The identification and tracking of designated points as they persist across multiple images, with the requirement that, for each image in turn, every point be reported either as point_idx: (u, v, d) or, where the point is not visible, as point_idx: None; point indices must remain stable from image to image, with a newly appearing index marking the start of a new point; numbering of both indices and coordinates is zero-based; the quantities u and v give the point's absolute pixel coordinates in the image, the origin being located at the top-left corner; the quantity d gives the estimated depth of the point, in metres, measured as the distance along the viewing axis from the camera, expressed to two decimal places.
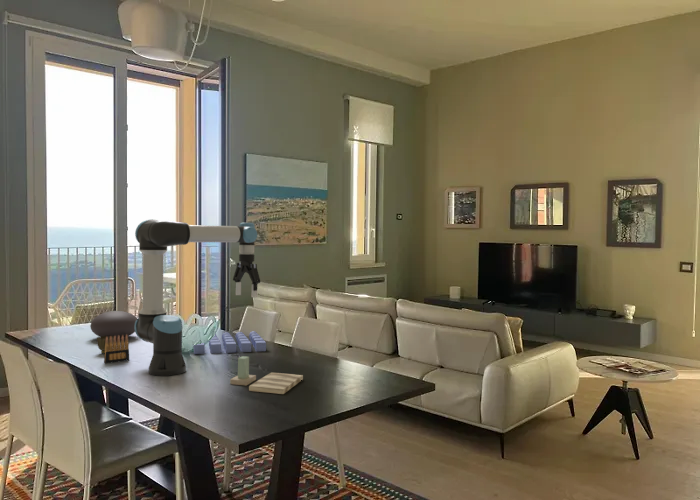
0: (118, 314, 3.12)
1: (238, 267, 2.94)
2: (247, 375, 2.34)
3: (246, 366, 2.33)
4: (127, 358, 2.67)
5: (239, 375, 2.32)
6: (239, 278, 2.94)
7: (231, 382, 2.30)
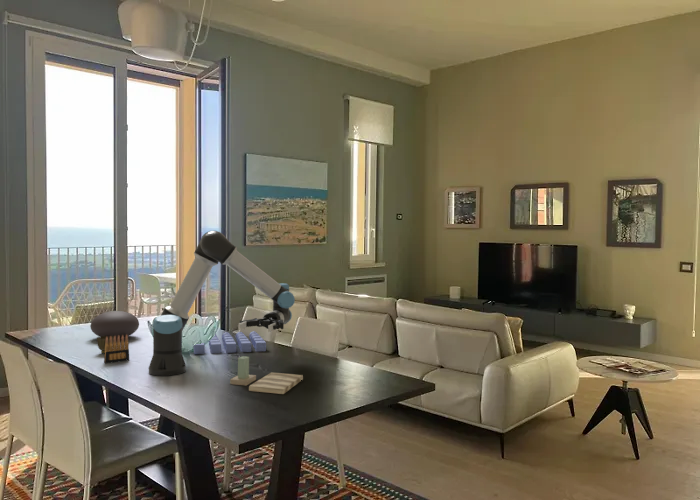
0: (118, 314, 3.12)
1: (254, 320, 2.58)
2: (247, 375, 2.34)
3: (246, 366, 2.33)
4: (127, 358, 2.67)
5: (239, 375, 2.32)
6: (249, 323, 2.53)
7: (231, 382, 2.30)
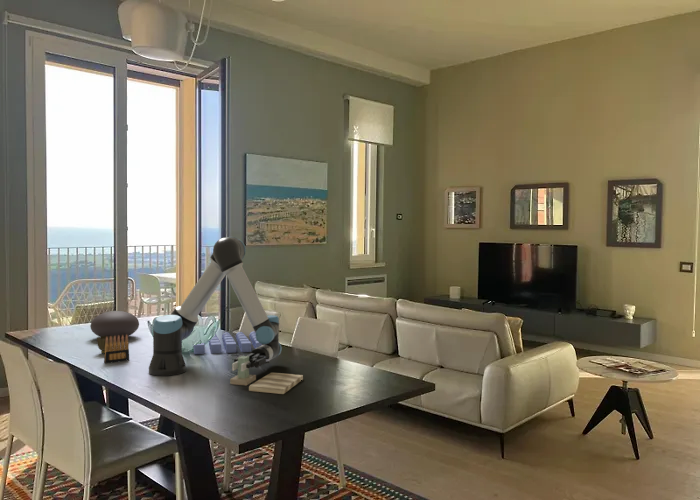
0: (118, 314, 3.12)
1: None
2: (247, 375, 2.34)
3: None
4: (127, 358, 2.67)
5: (239, 375, 2.32)
6: None
7: (231, 382, 2.30)
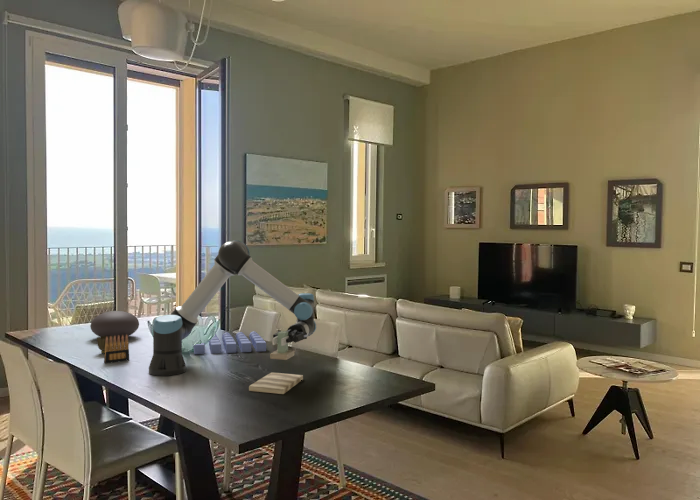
0: (118, 314, 3.12)
1: None
2: (286, 350, 2.35)
3: None
4: (127, 358, 2.67)
5: (279, 349, 2.33)
6: None
7: (271, 356, 2.32)
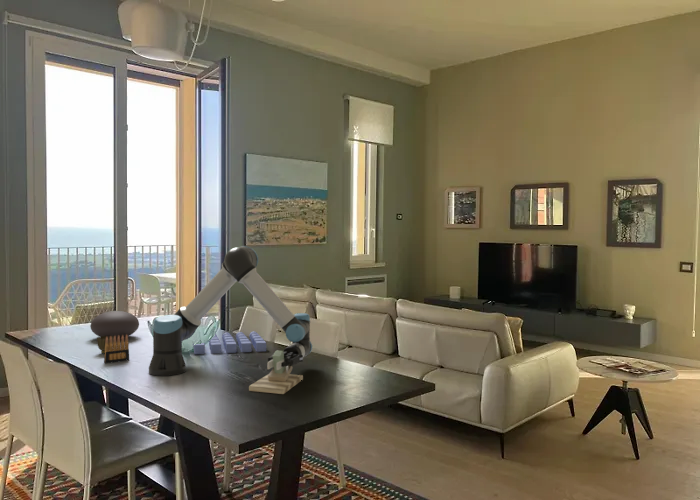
0: (118, 314, 3.12)
1: None
2: (284, 368, 2.32)
3: None
4: (127, 358, 2.67)
5: (276, 370, 2.30)
6: None
7: (269, 378, 2.30)
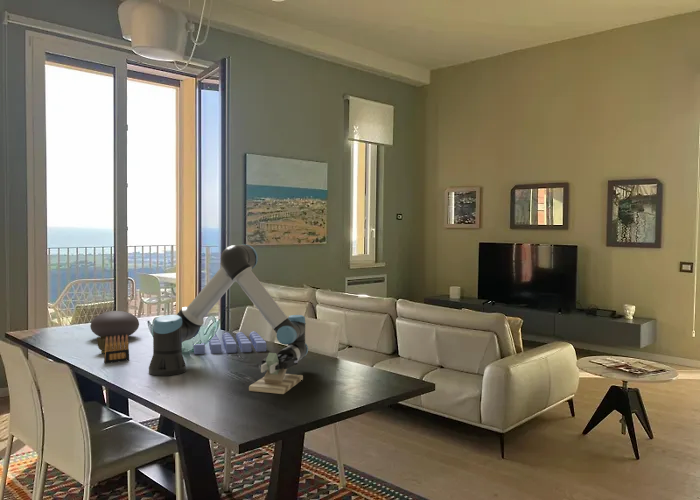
0: (118, 314, 3.12)
1: None
2: None
3: None
4: (127, 358, 2.67)
5: None
6: None
7: (265, 380, 2.27)
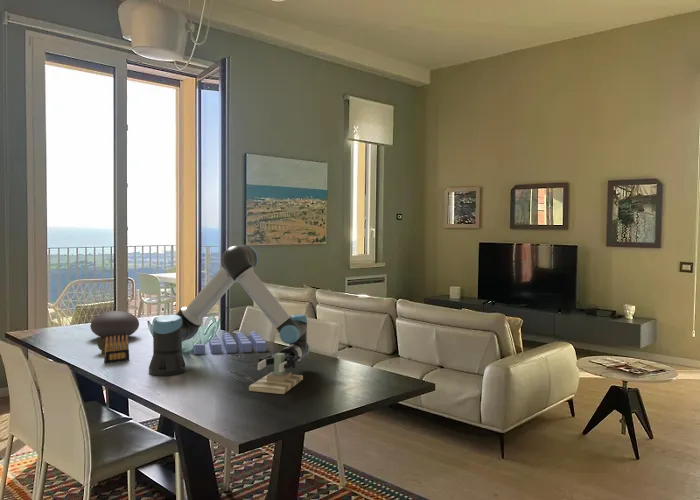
0: (118, 314, 3.12)
1: (271, 356, 2.38)
2: (283, 372, 2.33)
3: None
4: (127, 358, 2.67)
5: (275, 372, 2.31)
6: (268, 361, 2.32)
7: (267, 379, 2.29)
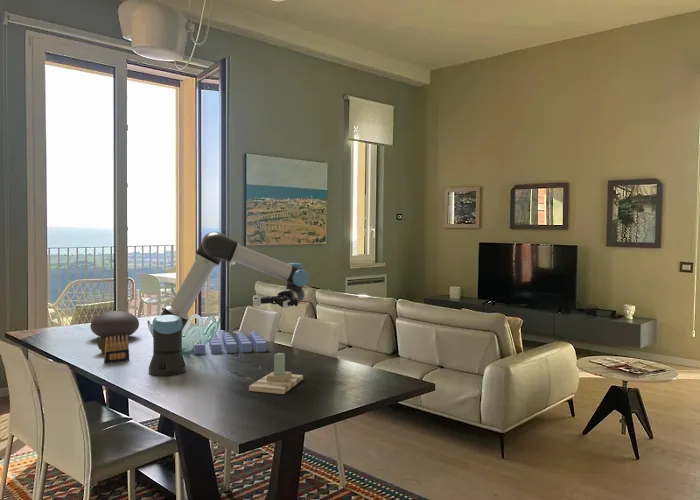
0: (118, 314, 3.12)
1: (268, 297, 2.60)
2: (283, 372, 2.33)
3: (282, 363, 2.32)
4: (127, 358, 2.67)
5: (275, 372, 2.31)
6: (263, 300, 2.55)
7: (267, 379, 2.29)
